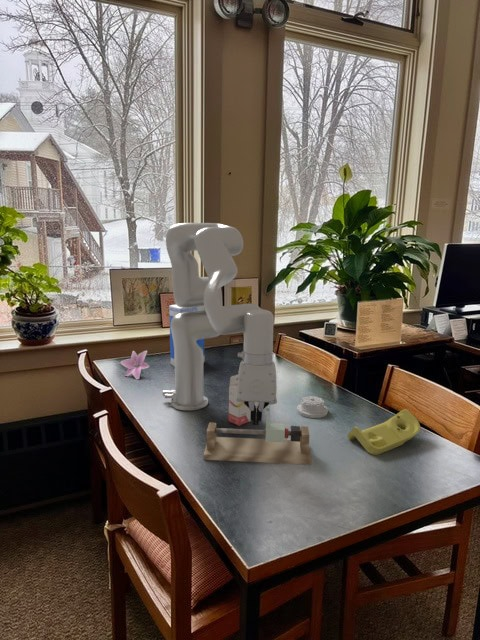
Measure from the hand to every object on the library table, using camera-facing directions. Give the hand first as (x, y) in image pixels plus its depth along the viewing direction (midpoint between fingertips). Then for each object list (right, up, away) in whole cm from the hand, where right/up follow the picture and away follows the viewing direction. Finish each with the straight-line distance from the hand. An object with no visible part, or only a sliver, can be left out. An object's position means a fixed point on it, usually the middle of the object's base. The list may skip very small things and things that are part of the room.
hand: (256, 422), depth 125 cm
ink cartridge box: (-3, -4, +22) cm, 22 cm away
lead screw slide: (0, -8, +2) cm, 9 cm away
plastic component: (+37, -8, +9) cm, 39 cm away
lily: (-45, +5, +60) cm, 75 cm away
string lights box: (-27, +9, +75) cm, 80 cm away
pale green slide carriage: (+5, -4, +1) cm, 7 cm away
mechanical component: (+19, -3, +28) cm, 35 cm away
